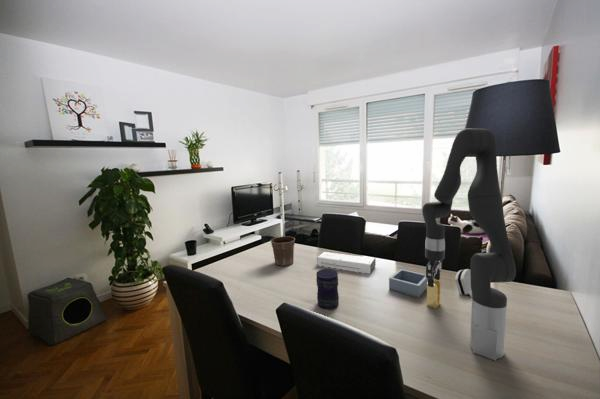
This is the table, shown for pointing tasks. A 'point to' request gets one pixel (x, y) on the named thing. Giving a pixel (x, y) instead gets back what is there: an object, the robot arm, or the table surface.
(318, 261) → the laminator
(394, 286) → the box
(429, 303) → the bracket
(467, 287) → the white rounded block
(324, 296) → the storage jar
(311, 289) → the table surface
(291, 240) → the plant pot
